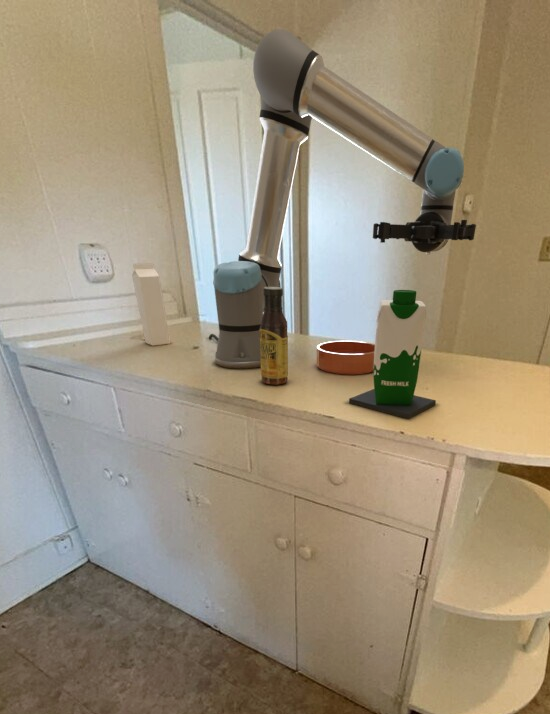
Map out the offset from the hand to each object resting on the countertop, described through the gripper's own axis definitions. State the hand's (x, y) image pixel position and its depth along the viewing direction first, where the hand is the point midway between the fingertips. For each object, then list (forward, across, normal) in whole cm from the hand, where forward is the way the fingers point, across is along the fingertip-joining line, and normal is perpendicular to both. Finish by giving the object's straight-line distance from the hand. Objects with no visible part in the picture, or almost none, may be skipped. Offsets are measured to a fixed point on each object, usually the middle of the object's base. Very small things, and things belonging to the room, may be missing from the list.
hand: (417, 230), depth 79 cm
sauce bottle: (+4, +29, -30) cm, 42 cm away
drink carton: (+10, 0, -29) cm, 31 cm away
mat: (+10, 0, -30) cm, 32 cm away
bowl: (-16, +16, -30) cm, 38 cm away
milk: (-24, +81, -30) cm, 90 cm away
